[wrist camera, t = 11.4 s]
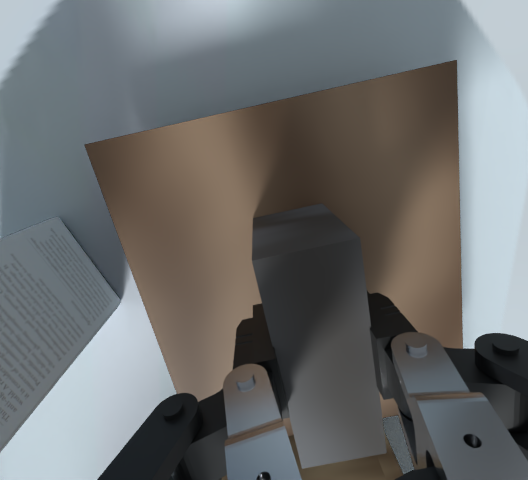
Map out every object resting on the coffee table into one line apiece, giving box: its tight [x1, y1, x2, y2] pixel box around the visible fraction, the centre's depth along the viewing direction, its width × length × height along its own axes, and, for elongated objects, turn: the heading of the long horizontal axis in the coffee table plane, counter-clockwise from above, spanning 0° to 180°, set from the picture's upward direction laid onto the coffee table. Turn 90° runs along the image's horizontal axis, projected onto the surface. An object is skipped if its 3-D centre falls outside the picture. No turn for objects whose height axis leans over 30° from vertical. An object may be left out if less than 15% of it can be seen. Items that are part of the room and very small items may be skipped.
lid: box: [85, 60, 463, 469], centre depth 13 cm, size 15×17×7 cm
